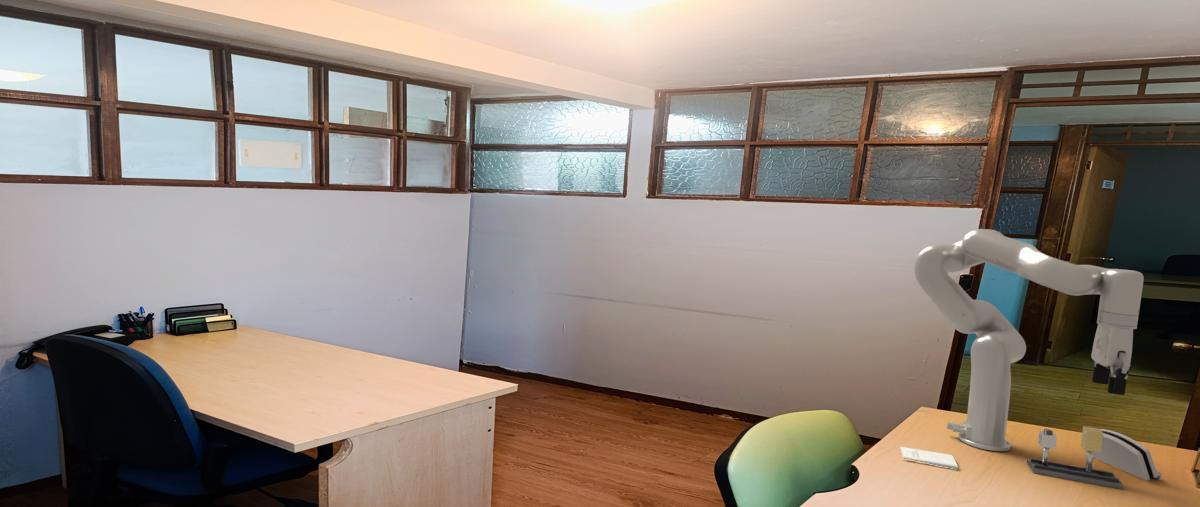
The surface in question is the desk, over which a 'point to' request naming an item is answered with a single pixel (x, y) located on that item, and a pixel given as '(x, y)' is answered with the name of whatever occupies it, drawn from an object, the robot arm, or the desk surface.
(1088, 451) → the tan square-headed peg
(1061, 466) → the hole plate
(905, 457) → the external hard drive
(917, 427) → the desk surface
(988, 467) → the desk surface
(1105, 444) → the white black arched block
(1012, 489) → the desk surface
